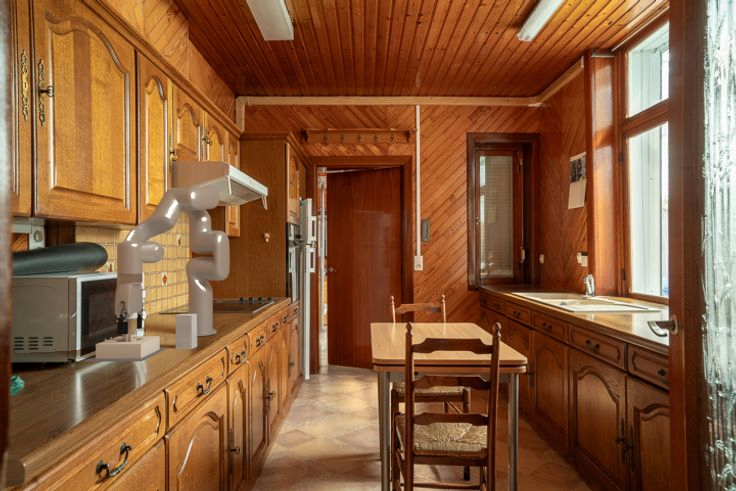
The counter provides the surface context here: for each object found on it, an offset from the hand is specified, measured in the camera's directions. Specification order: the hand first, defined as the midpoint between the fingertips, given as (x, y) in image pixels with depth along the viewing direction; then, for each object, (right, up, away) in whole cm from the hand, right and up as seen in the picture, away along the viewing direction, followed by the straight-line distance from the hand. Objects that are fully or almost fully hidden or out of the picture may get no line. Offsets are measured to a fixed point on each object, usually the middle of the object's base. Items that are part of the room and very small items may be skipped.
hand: (130, 331), depth 157 cm
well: (0, -7, -1) cm, 7 cm away
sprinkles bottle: (0, -7, 0) cm, 7 cm away
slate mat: (0, -8, -2) cm, 8 cm away
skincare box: (+15, -8, +10) cm, 19 cm away
